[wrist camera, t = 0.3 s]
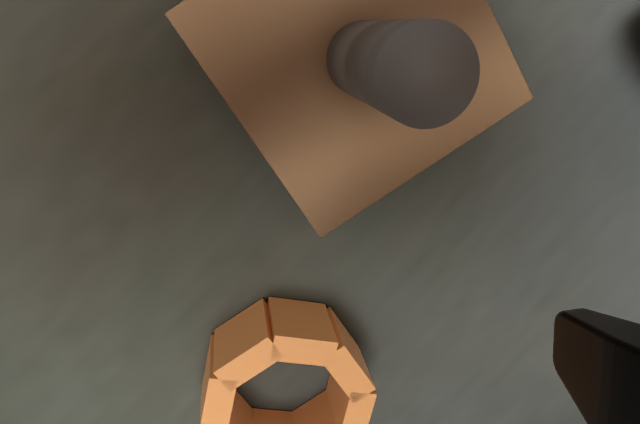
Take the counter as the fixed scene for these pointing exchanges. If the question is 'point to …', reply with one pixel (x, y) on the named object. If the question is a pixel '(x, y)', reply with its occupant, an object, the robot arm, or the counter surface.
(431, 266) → the counter surface
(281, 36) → the shaft post
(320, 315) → the ring
